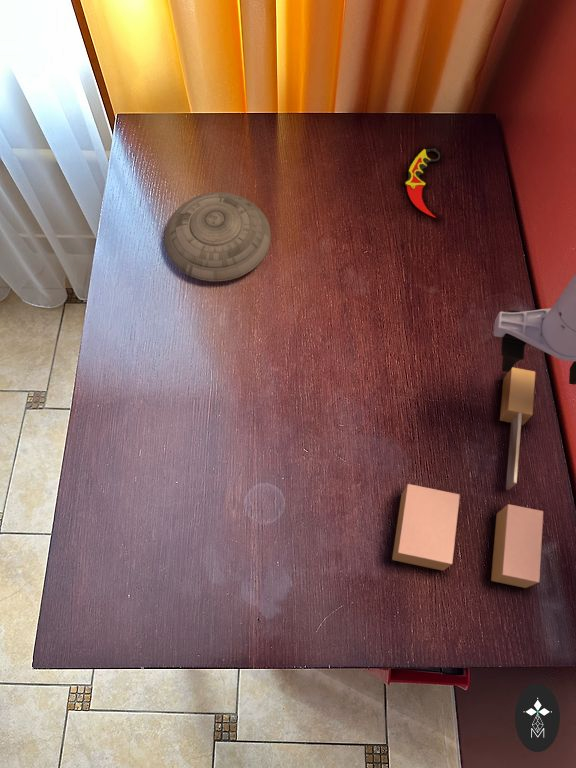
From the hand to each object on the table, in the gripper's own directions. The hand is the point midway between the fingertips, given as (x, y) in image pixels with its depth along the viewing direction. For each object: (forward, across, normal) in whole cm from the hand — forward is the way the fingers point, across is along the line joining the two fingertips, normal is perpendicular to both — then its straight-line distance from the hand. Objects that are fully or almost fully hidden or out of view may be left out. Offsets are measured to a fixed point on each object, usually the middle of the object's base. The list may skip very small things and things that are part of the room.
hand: (538, 370), depth 79 cm
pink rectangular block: (+9, +9, +19) cm, 23 cm away
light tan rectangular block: (+9, -1, +19) cm, 21 cm away
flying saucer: (+10, +43, -16) cm, 47 cm away
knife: (+9, +16, -33) cm, 38 cm away
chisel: (+9, 0, +4) cm, 10 cm away
